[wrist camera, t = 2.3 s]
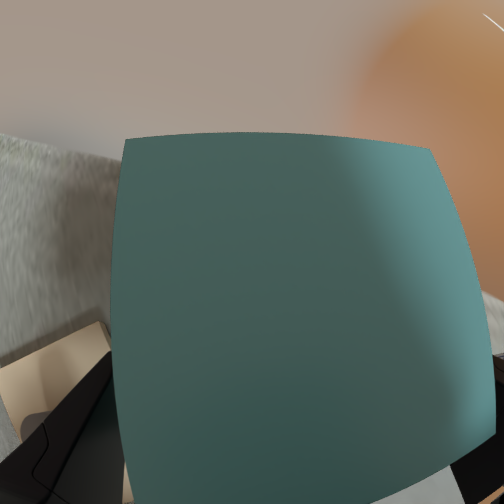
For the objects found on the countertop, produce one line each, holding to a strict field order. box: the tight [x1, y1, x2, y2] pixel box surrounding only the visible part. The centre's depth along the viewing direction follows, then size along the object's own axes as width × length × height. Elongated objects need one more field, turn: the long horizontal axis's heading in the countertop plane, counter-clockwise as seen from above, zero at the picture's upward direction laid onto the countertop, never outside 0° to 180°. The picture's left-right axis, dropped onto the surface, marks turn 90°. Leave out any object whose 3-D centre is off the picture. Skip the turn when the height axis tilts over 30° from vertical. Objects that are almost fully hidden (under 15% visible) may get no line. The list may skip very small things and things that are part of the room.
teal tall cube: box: [110, 132, 496, 504], centre depth 10 cm, size 6×6×13 cm
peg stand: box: [0, 321, 134, 504], centre depth 11 cm, size 10×9×4 cm
